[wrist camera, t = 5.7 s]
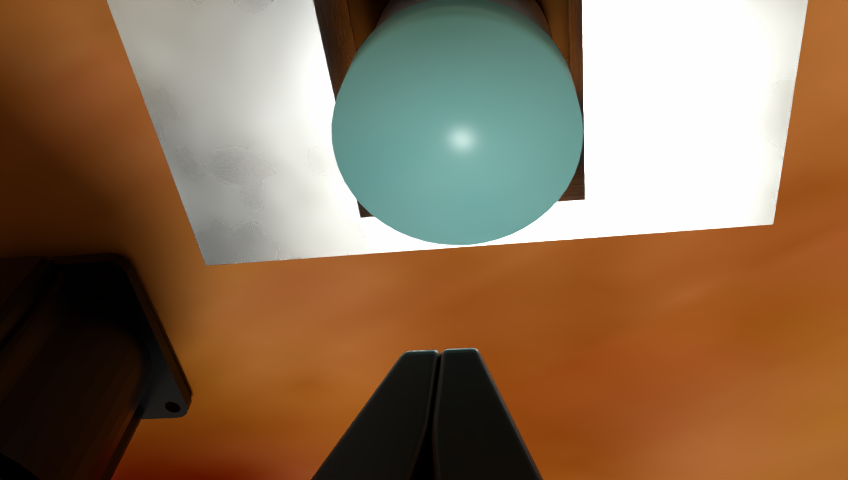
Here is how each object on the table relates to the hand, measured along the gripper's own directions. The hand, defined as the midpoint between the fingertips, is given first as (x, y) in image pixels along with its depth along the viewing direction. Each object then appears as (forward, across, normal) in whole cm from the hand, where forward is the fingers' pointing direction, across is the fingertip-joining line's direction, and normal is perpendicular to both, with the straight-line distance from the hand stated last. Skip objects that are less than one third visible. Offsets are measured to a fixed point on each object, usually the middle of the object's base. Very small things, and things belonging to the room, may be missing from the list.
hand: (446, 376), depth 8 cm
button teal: (+10, 0, 0) cm, 10 cm away
